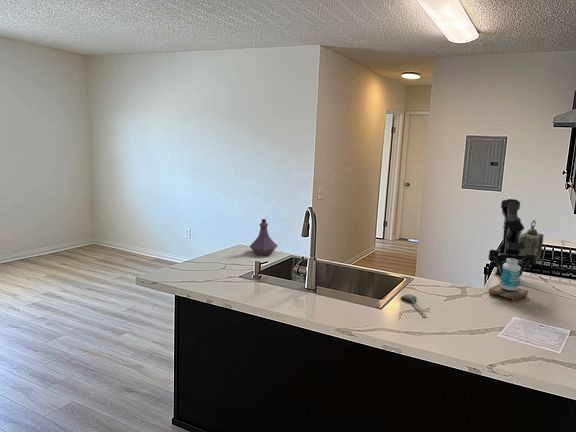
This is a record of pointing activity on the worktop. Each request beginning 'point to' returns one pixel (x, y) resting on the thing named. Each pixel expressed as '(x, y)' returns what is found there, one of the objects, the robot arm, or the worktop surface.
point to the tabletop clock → (532, 243)
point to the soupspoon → (412, 298)
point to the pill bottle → (510, 275)
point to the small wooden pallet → (508, 293)
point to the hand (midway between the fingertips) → (510, 274)
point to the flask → (263, 241)
